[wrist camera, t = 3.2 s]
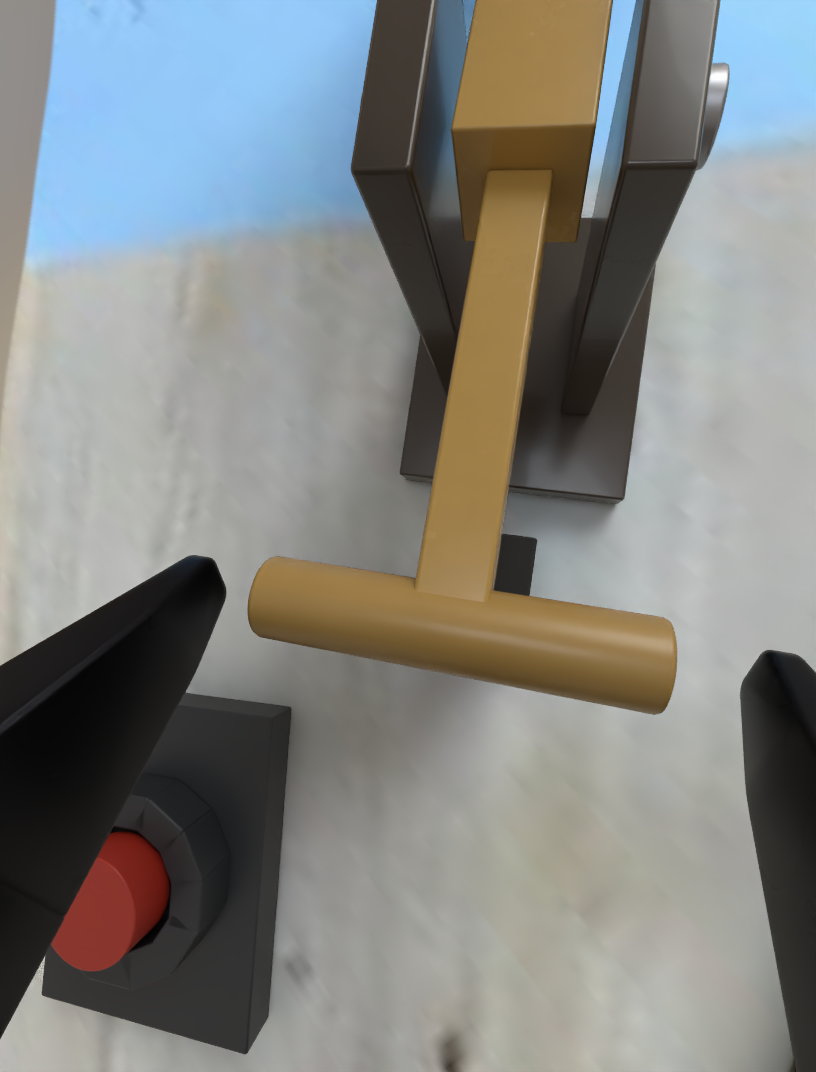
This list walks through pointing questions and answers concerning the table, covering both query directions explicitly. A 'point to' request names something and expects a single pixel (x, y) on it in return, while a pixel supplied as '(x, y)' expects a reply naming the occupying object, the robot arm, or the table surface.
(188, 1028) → the dark grey square plate
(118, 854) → the button
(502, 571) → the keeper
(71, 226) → the table surface
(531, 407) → the bracket
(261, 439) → the table surface
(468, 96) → the lever
